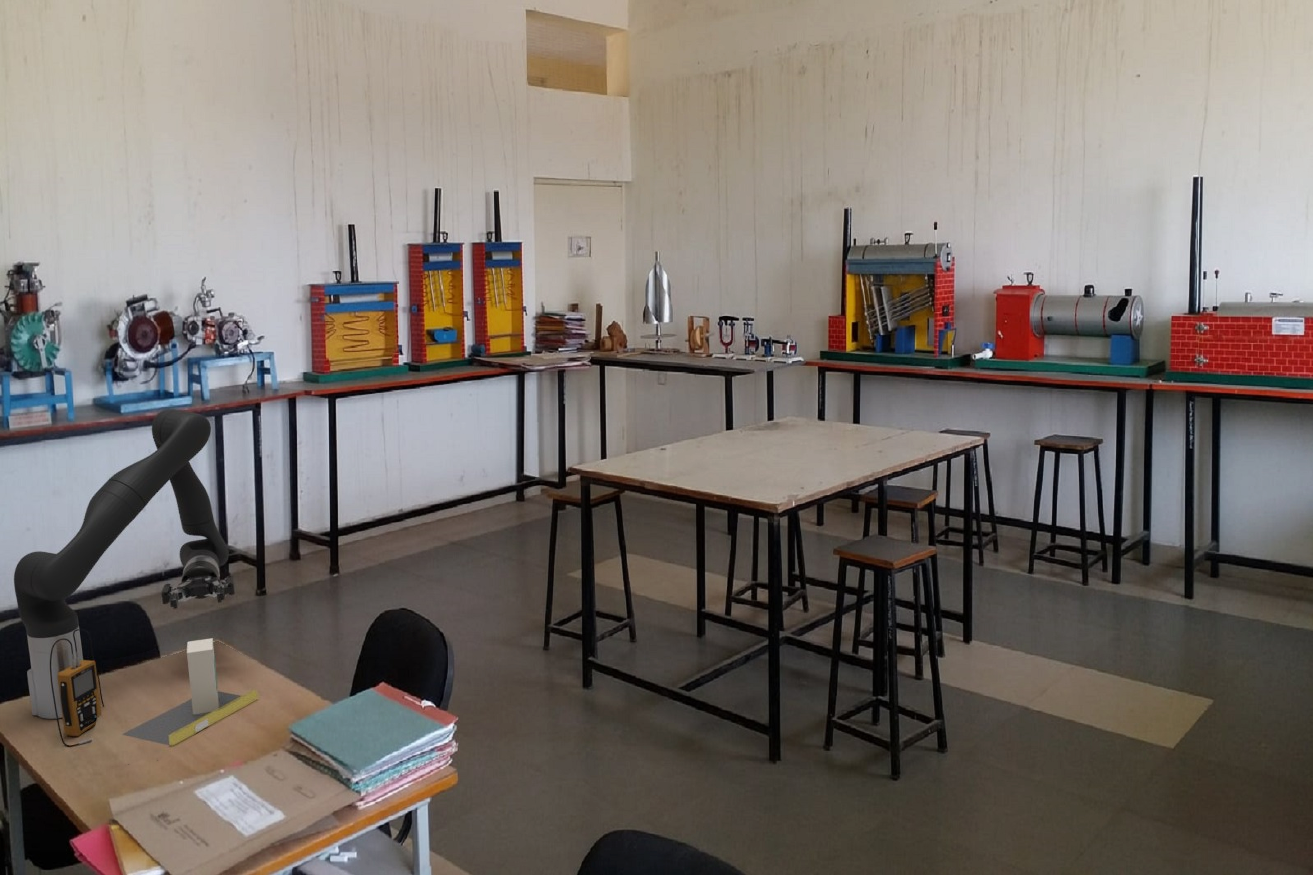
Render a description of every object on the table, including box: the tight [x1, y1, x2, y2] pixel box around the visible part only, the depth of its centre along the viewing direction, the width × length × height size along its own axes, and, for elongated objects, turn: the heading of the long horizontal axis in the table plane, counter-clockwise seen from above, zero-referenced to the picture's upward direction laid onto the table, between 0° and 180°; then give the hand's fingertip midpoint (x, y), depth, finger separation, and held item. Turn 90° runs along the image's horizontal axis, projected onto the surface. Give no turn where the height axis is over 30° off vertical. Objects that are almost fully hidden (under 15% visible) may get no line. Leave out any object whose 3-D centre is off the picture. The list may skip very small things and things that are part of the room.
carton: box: [186, 637, 219, 715], centre depth 216 cm, size 5×6×13 cm
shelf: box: [122, 689, 259, 747], centre depth 213 cm, size 13×22×4 cm, turn 157°
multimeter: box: [50, 628, 105, 748], centre depth 209 cm, size 15×10×20 cm
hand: (197, 601), depth 223 cm, fingers open, 8 cm apart
